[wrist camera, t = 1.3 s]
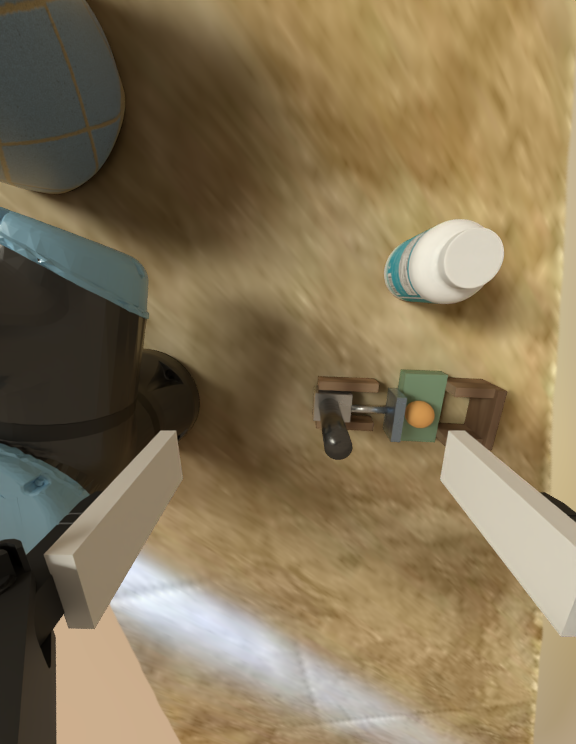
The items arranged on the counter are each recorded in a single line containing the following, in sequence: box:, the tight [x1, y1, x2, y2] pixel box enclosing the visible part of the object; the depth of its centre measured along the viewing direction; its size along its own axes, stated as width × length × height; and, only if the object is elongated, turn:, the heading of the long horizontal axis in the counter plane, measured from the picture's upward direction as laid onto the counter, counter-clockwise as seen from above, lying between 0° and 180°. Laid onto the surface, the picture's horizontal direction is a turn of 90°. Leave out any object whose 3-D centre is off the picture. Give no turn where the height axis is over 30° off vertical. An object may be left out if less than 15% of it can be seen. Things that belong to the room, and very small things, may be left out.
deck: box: [398, 370, 448, 442], centre depth 39 cm, size 6×10×2 cm, turn 178°
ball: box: [405, 401, 435, 428], centre depth 37 cm, size 4×4×4 cm
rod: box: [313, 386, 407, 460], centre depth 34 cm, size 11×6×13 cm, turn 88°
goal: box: [436, 378, 507, 450], centre depth 38 cm, size 6×8×5 cm
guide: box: [315, 376, 379, 431], centre depth 40 cm, size 8×7×2 cm
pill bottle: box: [384, 219, 504, 304], centre depth 29 cm, size 8×7×14 cm
